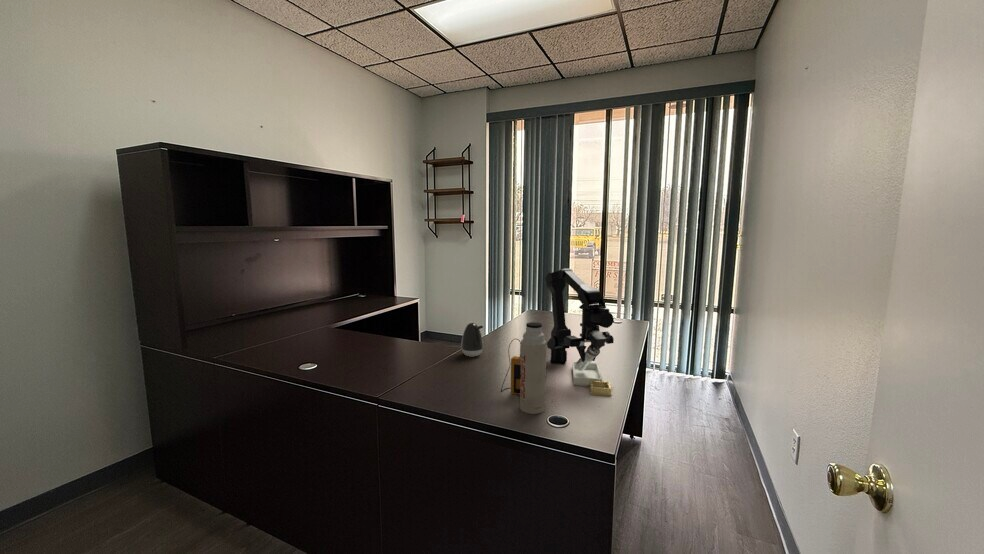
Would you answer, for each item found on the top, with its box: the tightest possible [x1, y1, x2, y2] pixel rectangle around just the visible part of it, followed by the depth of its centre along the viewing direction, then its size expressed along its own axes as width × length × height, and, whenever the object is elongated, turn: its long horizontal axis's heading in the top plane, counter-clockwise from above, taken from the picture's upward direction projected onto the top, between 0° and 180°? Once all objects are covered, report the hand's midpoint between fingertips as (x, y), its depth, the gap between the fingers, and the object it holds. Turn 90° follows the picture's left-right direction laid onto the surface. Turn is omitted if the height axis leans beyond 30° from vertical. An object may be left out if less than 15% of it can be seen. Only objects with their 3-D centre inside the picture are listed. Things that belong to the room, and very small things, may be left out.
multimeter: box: [500, 338, 521, 396], centre depth 140 cm, size 15×10×20 cm
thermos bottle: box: [519, 321, 547, 415], centre depth 125 cm, size 8×8×28 cm
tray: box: [571, 361, 603, 387], centre depth 153 cm, size 10×18×3 cm, turn 170°
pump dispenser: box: [460, 322, 484, 358], centre depth 180 cm, size 10×10×15 cm
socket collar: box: [589, 380, 612, 397], centre depth 140 cm, size 7×7×2 cm
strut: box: [575, 343, 601, 371], centre depth 153 cm, size 5×5×14 cm
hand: (588, 361), depth 152 cm, fingers closed on strut, 4 cm apart
